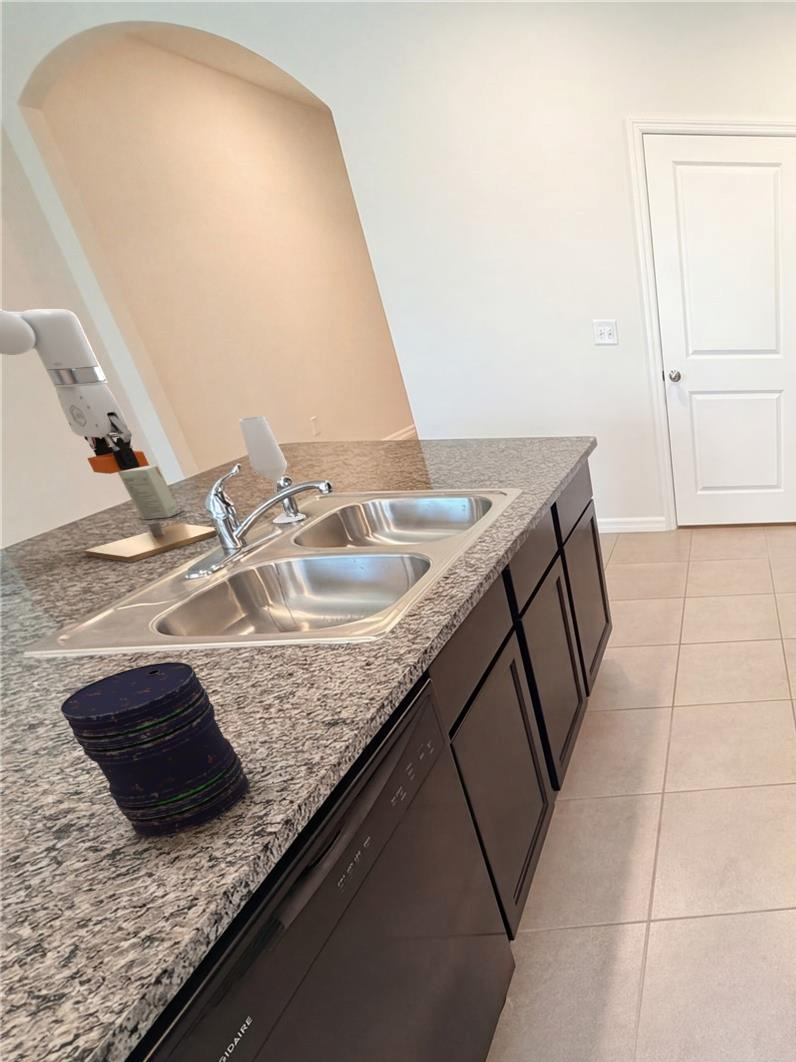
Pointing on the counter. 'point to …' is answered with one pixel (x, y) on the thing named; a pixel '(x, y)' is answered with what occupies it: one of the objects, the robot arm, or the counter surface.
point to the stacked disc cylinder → (158, 747)
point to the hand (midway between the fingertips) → (121, 466)
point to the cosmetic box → (149, 492)
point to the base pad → (152, 542)
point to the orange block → (113, 462)
